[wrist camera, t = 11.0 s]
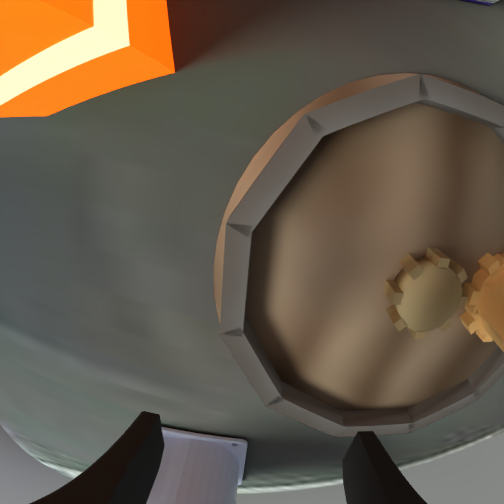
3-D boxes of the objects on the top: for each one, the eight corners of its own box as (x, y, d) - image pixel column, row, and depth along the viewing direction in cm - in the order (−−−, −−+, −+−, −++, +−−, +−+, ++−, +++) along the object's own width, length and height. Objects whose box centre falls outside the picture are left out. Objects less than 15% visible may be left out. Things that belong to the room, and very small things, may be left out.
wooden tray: (211, 410, 22) (206, 435, 20) (233, 43, 14) (226, 28, 12) (478, 407, 22) (489, 425, 19) (566, 139, 13) (589, 143, 11)
